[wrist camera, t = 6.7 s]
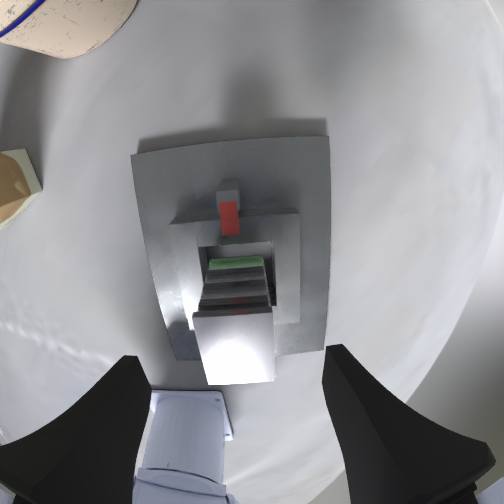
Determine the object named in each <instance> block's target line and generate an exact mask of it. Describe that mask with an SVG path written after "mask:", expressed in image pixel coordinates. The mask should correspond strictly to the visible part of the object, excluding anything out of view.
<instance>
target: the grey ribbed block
mask: <svg viewBox="0 0 504 504" xmlns="http://www.w3.org/2000/svg"><path fill="white" fill-rule="evenodd" d="M192 321H193V326H194V330H195V334H196V338H197V342H198V346H199V350H200V354H201V358H202V362H203V366H204V370H205V373H206V377H207V381H208V384H209V385H213V384H240V383H256V382H268V381H276V376H275V349H274V326H273V310H272V307H271V303H270V297H269V291H268V284H267V278H266V272H265V266H264V259H263V258H262V256H261V255H255V256H243V257H230V258H218V259H210V262H209V267H208V270H207V273H206V278H205V282H204V285H203V290H202V294H201V298H200V301H199V305H198V310H197V312H193V315H192Z"/></svg>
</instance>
